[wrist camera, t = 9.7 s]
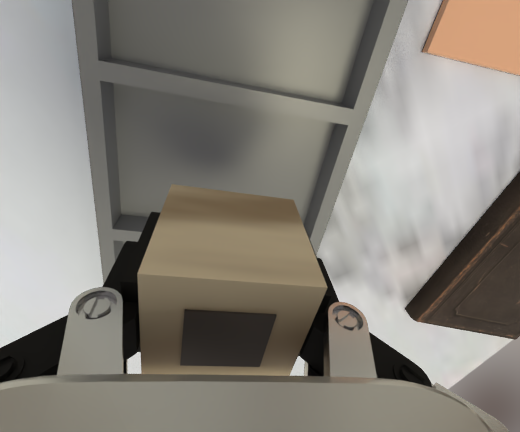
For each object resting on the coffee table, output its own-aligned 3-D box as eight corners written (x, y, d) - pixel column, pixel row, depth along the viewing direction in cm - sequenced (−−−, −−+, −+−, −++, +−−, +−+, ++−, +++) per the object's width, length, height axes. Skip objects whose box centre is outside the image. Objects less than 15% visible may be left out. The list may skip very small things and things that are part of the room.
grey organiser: (70, -242, 12) (37, -304, 10) (425, -113, 15) (458, -139, 13) (118, 313, 29) (109, 335, 27) (281, 320, 32) (285, 340, 30)
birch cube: (171, 184, 11) (136, 275, 7) (293, 199, 12) (328, 289, 8) (168, 276, 14) (141, 385, 10) (269, 284, 15) (285, 386, 10)
